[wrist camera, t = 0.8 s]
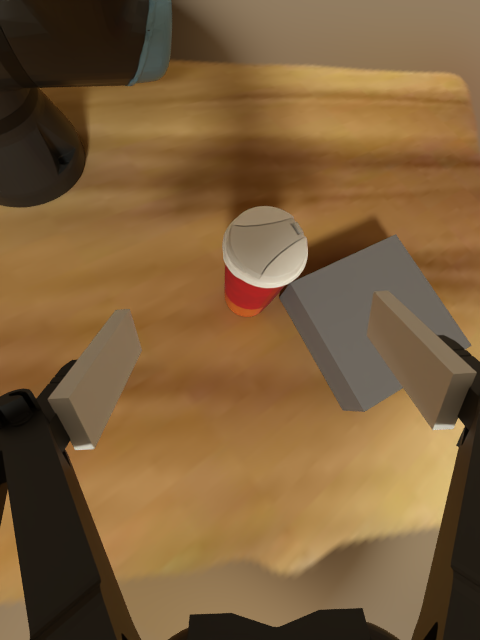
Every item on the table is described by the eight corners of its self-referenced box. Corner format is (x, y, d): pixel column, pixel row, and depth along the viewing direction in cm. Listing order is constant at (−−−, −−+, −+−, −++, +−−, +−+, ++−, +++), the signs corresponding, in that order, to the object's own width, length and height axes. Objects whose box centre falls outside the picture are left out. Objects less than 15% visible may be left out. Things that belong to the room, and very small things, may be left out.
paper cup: (257, 260, 40) (284, 189, 26) (285, 309, 38) (329, 259, 25) (205, 284, 38) (206, 219, 25) (232, 335, 37) (249, 297, 23)
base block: (279, 297, 39) (289, 282, 34) (373, 253, 42) (395, 234, 37) (342, 410, 36) (364, 411, 31) (438, 352, 39) (471, 345, 35)
